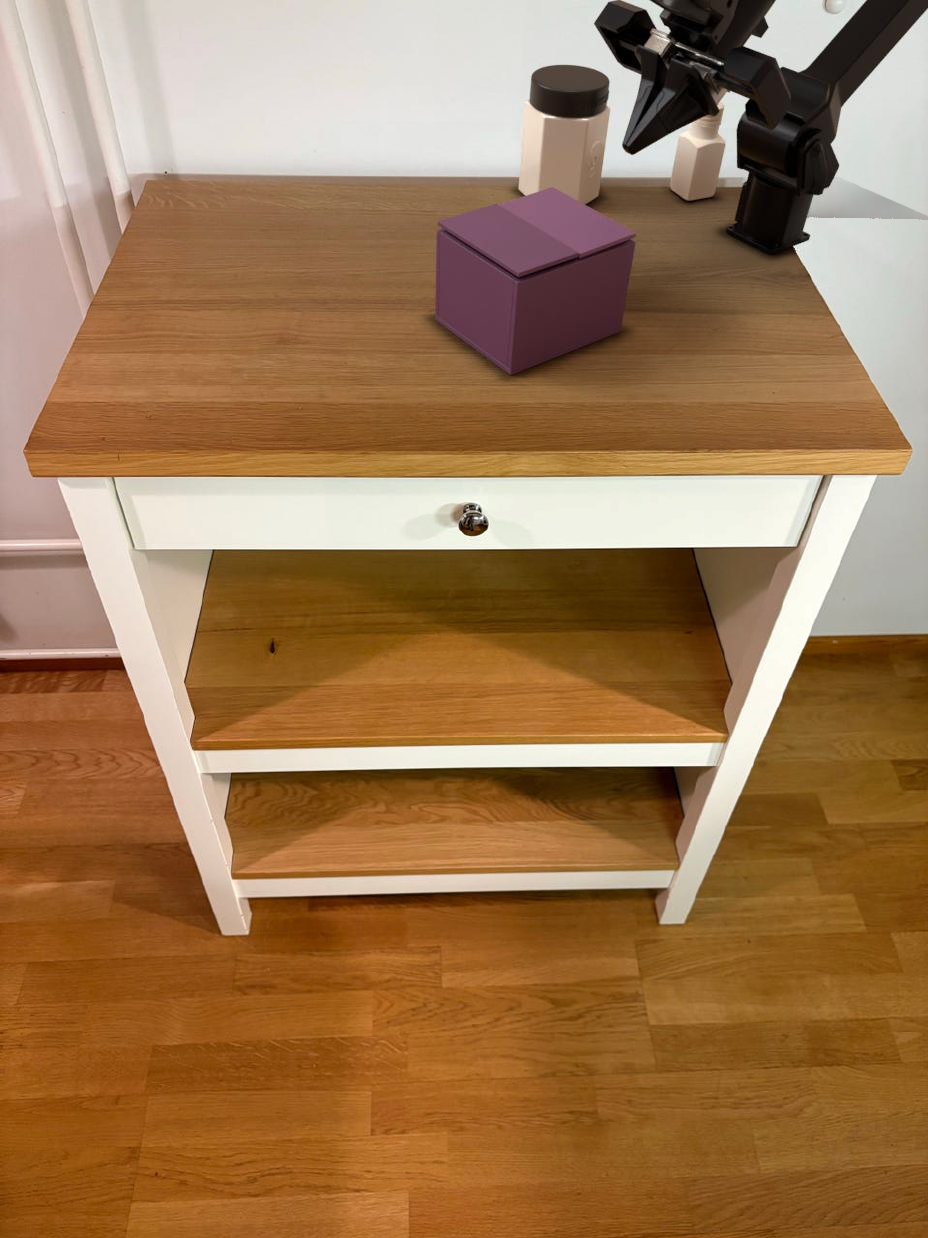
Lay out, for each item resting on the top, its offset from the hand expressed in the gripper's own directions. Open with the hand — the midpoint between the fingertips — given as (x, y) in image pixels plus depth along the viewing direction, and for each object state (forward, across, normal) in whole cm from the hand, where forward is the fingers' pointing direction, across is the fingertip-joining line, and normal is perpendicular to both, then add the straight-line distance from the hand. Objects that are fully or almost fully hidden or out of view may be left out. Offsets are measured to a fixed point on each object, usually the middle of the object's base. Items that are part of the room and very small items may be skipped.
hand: (626, 150), depth 84 cm
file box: (+16, 0, +3) cm, 17 cm away
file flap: (+8, 0, -1) cm, 8 cm away
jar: (+2, -20, +18) cm, 27 cm away
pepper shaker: (-8, -12, +27) cm, 31 cm away
